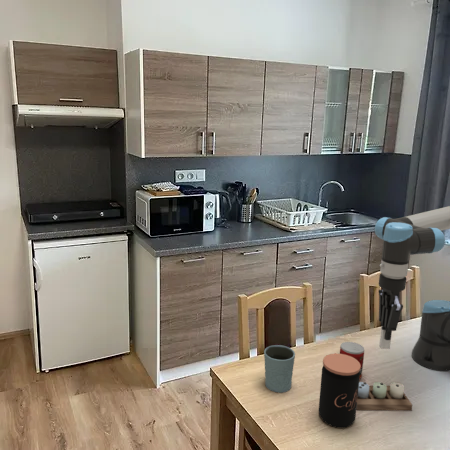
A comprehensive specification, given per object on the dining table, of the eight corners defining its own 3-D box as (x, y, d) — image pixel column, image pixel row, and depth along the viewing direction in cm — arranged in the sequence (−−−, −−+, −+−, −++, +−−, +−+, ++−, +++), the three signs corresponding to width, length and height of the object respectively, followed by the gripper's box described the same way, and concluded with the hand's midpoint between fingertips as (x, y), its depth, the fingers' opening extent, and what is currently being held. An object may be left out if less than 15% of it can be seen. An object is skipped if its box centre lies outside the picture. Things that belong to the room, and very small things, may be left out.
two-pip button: (382, 391, 141) (384, 381, 140) (387, 398, 137) (388, 388, 137) (370, 390, 141) (371, 381, 140) (375, 398, 137) (376, 388, 136)
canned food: (362, 383, 149) (365, 353, 146) (338, 380, 150) (341, 350, 148) (360, 371, 156) (363, 343, 154) (337, 368, 158) (339, 340, 155)
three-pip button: (365, 390, 141) (366, 381, 140) (370, 398, 137) (371, 388, 136) (353, 390, 141) (354, 381, 140) (357, 398, 137) (358, 388, 136)
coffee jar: (332, 433, 124) (338, 376, 120) (311, 410, 134) (315, 357, 130) (362, 423, 128) (368, 368, 124) (339, 402, 138) (344, 350, 134)
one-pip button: (399, 391, 141) (401, 381, 141) (405, 398, 137) (406, 389, 137) (387, 391, 141) (388, 381, 140) (392, 398, 137) (393, 388, 137)
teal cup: (281, 397, 140) (283, 363, 137) (256, 384, 146) (257, 352, 144) (298, 384, 147) (301, 352, 144) (274, 372, 154) (276, 341, 151)
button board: (398, 391, 145) (399, 385, 144) (411, 410, 135) (412, 404, 135) (347, 390, 144) (347, 385, 144) (356, 410, 135) (357, 404, 134)
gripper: (372, 267, 137) (365, 337, 142) (389, 282, 124) (380, 358, 129) (396, 268, 137) (388, 337, 142) (415, 282, 124) (405, 358, 129)
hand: (384, 347), depth 136 cm, fingers closed
